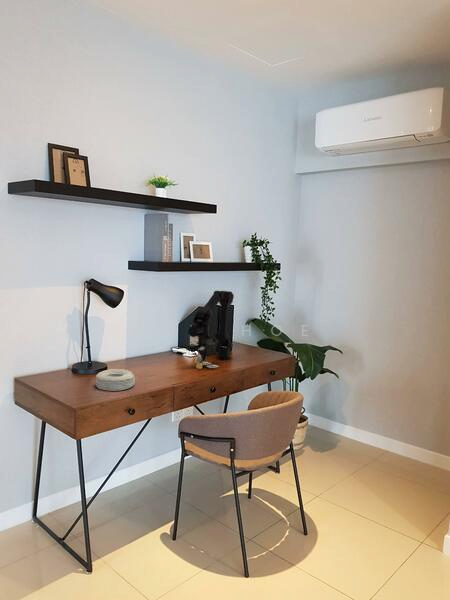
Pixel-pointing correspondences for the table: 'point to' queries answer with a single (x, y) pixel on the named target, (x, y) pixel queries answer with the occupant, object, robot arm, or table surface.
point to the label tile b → (212, 366)
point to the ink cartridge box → (194, 341)
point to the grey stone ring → (115, 379)
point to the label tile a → (206, 363)
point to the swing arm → (199, 362)
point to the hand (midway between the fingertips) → (203, 361)
